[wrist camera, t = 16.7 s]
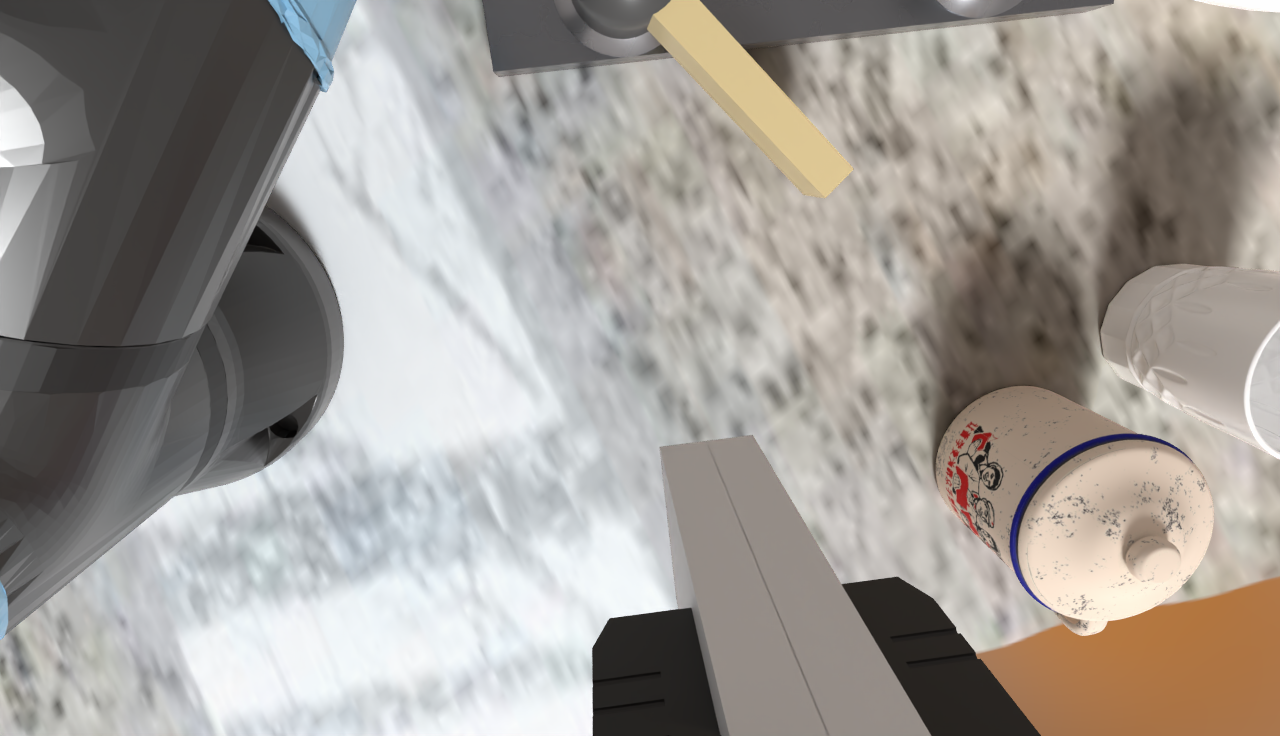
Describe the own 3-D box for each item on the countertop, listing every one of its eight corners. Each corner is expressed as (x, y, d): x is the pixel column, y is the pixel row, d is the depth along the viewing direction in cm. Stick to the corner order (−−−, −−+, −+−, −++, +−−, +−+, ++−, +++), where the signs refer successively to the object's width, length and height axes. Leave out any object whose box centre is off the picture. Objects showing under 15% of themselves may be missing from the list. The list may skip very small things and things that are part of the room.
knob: (544, -19, 32) (537, -49, 27) (619, -106, 31) (624, -152, 26) (773, 217, 35) (801, 226, 30) (845, 143, 34) (884, 140, 30)
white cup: (1204, 223, 39) (1407, 244, 29) (1248, 349, 41) (1452, 407, 31) (1066, 300, 39) (1220, 345, 30) (1117, 420, 41) (1276, 499, 32)
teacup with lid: (918, 401, 40) (1045, 493, 29) (1082, 362, 40) (1271, 438, 29) (943, 590, 44) (1066, 738, 32) (1095, 554, 44) (1269, 689, 32)
